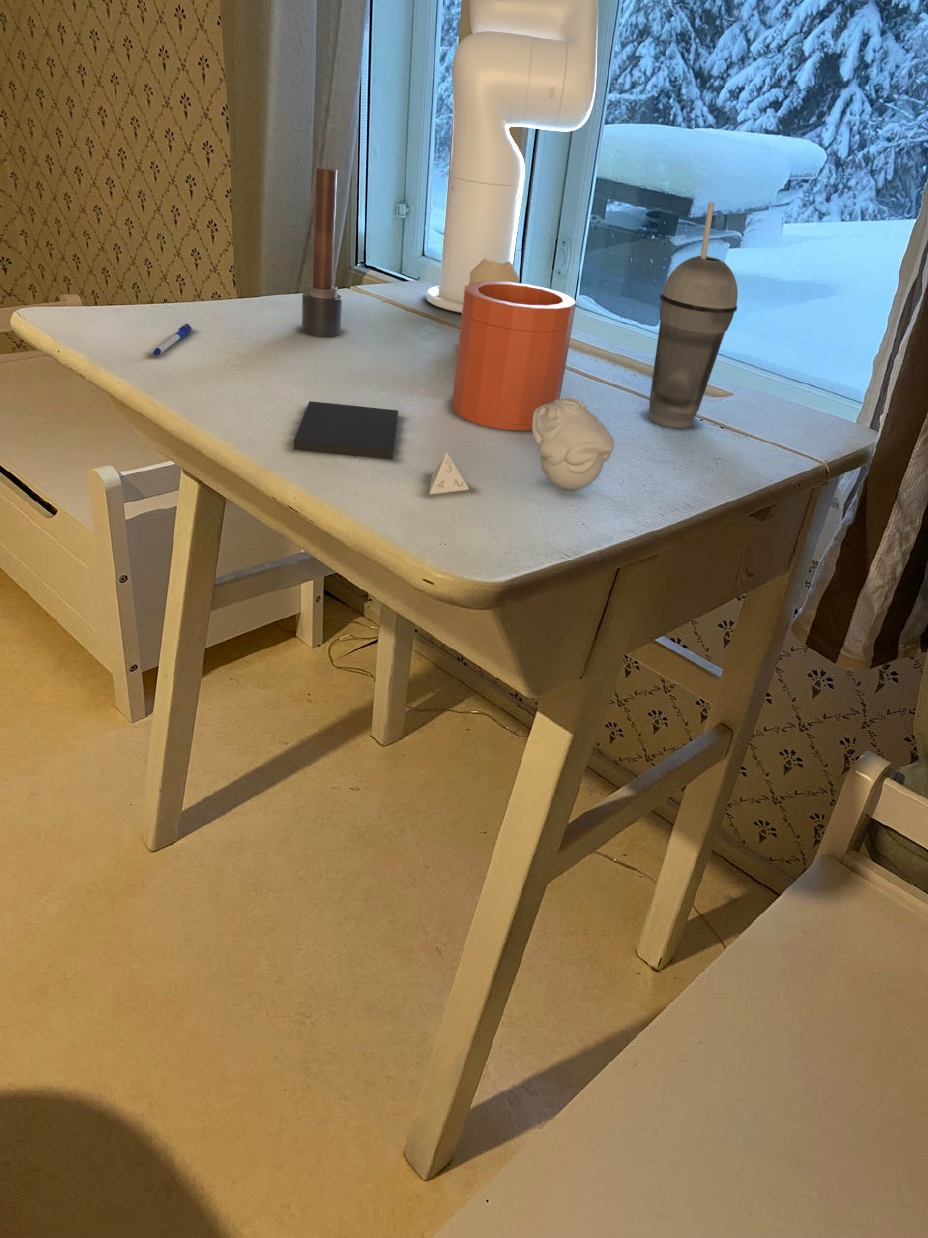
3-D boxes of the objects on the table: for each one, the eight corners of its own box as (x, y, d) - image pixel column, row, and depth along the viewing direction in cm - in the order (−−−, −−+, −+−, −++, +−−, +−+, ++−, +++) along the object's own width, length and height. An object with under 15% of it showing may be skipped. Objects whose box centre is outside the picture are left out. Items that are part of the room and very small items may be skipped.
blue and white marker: (184, 330, 101) (184, 320, 100) (192, 331, 101) (192, 322, 100) (152, 356, 92) (151, 346, 91) (161, 357, 92) (160, 347, 91)
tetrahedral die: (412, 497, 72) (408, 466, 70) (432, 476, 74) (428, 446, 71) (450, 510, 71) (447, 480, 69) (469, 489, 72) (467, 458, 70)
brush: (304, 324, 108) (308, 163, 100) (342, 328, 109) (349, 168, 100) (299, 333, 105) (302, 167, 96) (338, 338, 105) (345, 173, 96)
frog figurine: (546, 463, 79) (559, 383, 75) (619, 489, 76) (637, 406, 72) (507, 482, 74) (520, 397, 71) (583, 510, 71) (600, 423, 68)
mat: (309, 409, 84) (309, 400, 83) (397, 418, 84) (398, 410, 84) (293, 449, 75) (293, 440, 75) (392, 459, 76) (393, 450, 75)
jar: (451, 390, 93) (464, 276, 88) (550, 401, 94) (568, 288, 88) (452, 424, 85) (466, 300, 79) (560, 435, 85) (581, 313, 80)
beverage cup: (669, 436, 89) (723, 211, 79) (619, 410, 94) (663, 195, 84) (721, 428, 93) (779, 213, 82) (670, 404, 98) (719, 198, 87)
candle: (510, 348, 110) (522, 259, 104) (507, 361, 105) (520, 268, 100) (464, 342, 110) (474, 252, 105) (459, 354, 105) (469, 261, 100)
